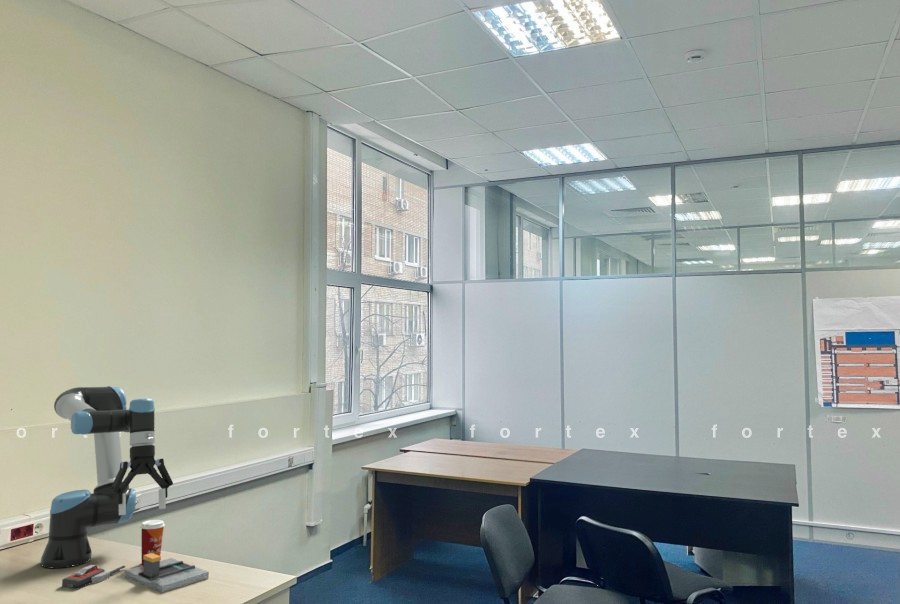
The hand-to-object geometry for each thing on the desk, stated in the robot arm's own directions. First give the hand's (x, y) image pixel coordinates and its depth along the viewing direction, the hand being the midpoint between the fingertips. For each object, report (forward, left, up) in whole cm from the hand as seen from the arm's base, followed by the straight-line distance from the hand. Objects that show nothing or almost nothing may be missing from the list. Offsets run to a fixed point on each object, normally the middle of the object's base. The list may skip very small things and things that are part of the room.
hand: (142, 511), depth 202 cm
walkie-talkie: (-12, -8, -22) cm, 27 cm away
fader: (+5, +1, -19) cm, 20 cm away
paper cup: (-12, +11, -22) cm, 27 cm away
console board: (+5, +7, -21) cm, 23 cm away
